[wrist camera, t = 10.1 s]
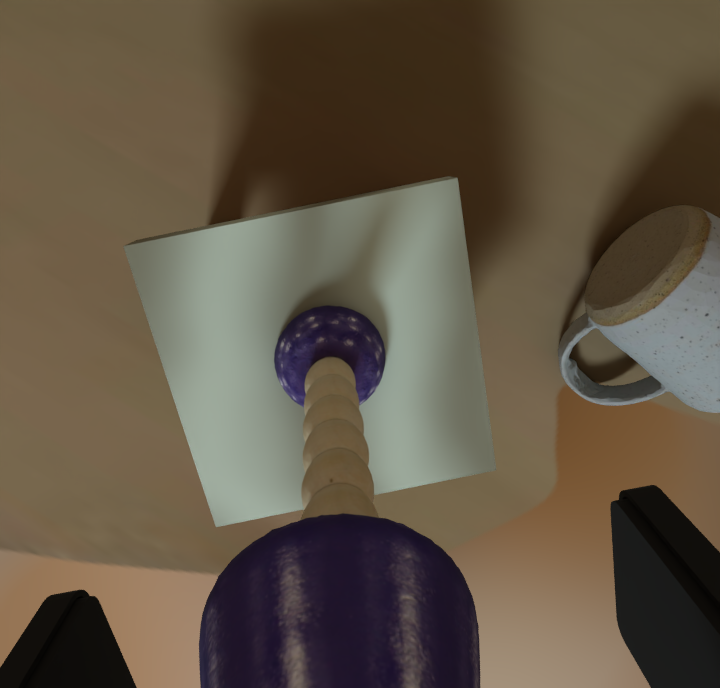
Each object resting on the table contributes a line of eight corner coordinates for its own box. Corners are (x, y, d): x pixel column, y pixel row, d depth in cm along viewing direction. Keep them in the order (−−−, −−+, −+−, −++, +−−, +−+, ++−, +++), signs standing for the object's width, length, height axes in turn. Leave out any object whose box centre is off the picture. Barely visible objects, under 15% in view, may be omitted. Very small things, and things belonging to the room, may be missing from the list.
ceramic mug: (644, 186, 30) (746, 200, 22) (749, 273, 31) (875, 312, 24) (514, 347, 32) (568, 406, 25) (618, 418, 34) (696, 493, 27)
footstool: (417, 170, 29) (457, 177, 20) (450, 386, 32) (496, 470, 24) (182, 218, 29) (123, 246, 20) (244, 428, 32) (215, 527, 24)
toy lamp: (409, 389, 22) (622, 939, 7) (306, 442, 23) (272, 1077, 7) (353, 284, 21) (451, 665, 5) (243, 342, 21) (24, 858, 6)
